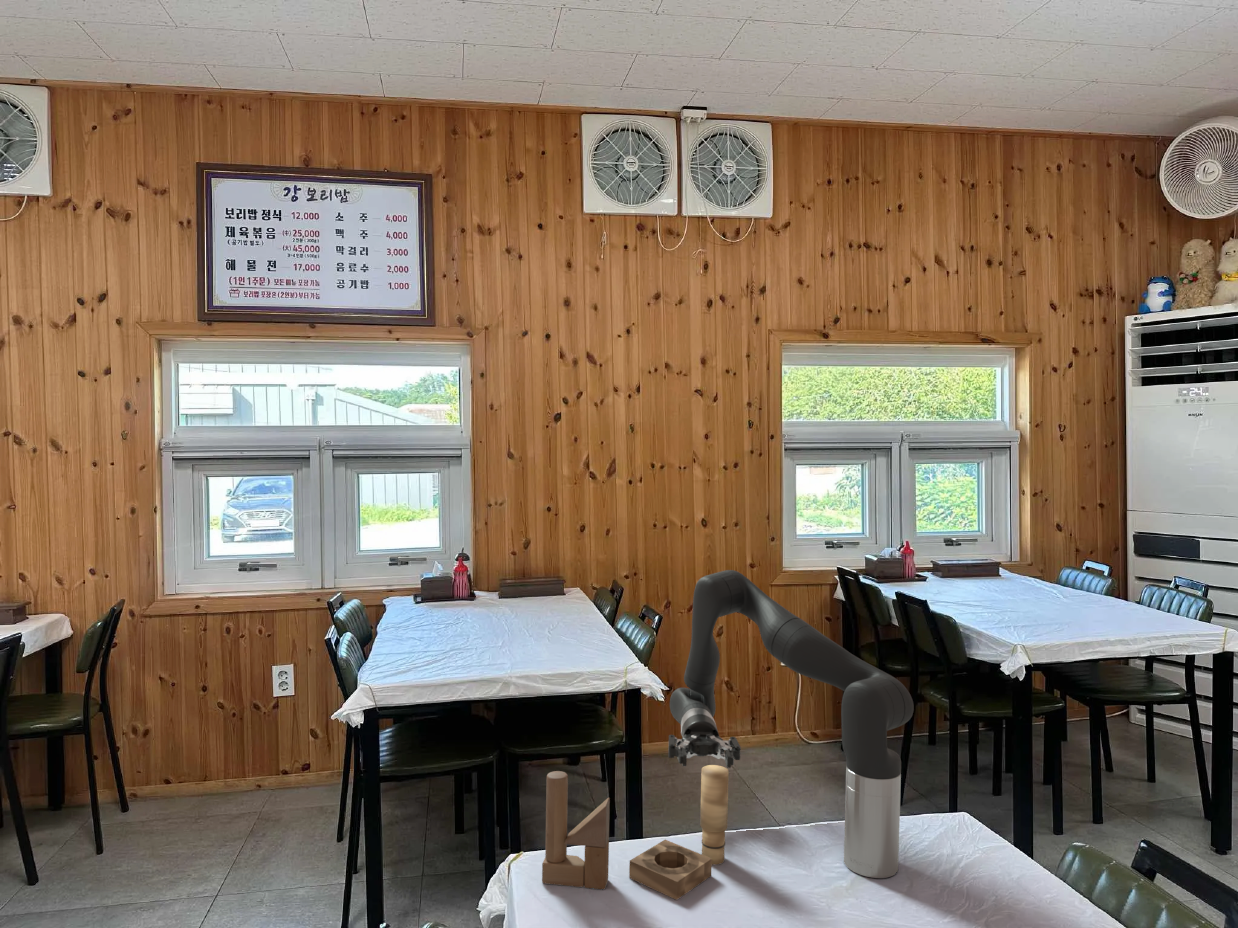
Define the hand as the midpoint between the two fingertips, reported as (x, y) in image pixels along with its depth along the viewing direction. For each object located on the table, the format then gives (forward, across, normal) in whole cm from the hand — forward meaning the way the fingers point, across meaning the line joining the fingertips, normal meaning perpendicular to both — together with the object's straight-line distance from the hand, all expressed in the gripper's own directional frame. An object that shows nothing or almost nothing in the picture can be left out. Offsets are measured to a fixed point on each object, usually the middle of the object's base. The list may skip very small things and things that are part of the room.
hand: (707, 762), depth 158 cm
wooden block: (+20, -24, +13) cm, 34 cm away
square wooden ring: (+18, -8, +13) cm, 23 cm away
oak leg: (+12, 0, +13) cm, 17 cm away
